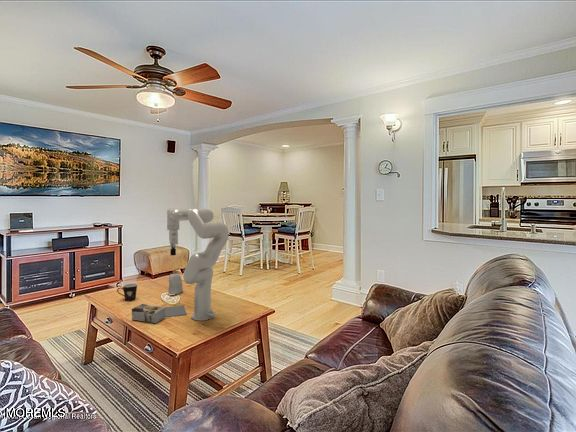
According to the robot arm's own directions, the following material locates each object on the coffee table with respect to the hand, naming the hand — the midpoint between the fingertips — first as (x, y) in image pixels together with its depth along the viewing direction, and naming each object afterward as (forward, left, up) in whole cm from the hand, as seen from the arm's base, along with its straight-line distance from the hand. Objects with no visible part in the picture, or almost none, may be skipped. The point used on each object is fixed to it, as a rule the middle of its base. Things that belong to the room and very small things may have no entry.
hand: (173, 255), depth 205 cm
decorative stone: (+12, -18, -33) cm, 40 cm away
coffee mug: (+33, +5, -33) cm, 47 cm away
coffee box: (-12, +25, -30) cm, 40 cm away
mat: (-5, +13, -33) cm, 36 cm away
